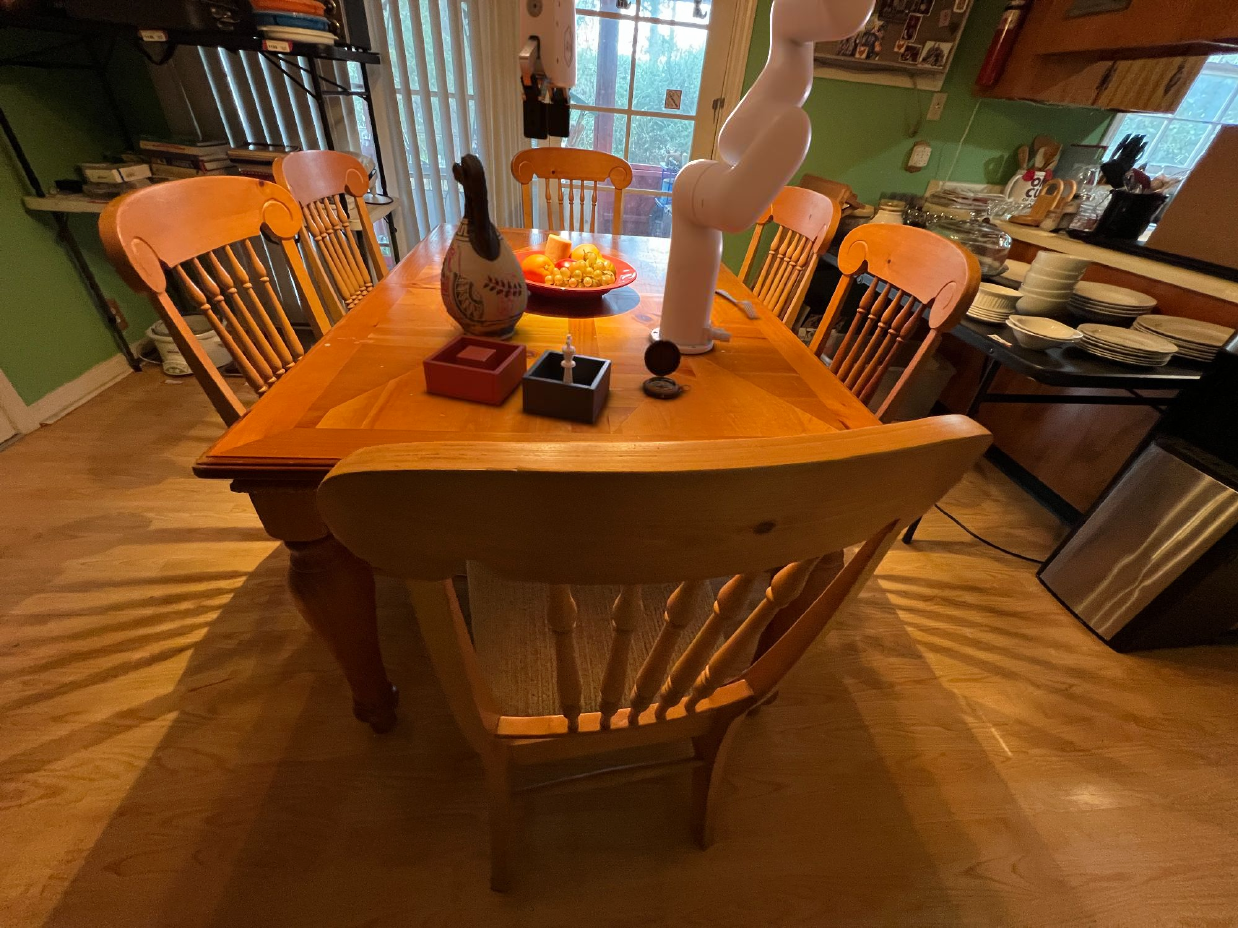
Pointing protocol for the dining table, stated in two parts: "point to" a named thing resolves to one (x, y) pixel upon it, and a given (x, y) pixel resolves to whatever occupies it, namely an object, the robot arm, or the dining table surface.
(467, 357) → the red block
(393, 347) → the dining table surface
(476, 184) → the ceramic jug
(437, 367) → the red bin
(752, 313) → the fork
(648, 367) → the compass
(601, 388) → the charcoal bin
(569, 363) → the chess piece
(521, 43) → the robot arm
